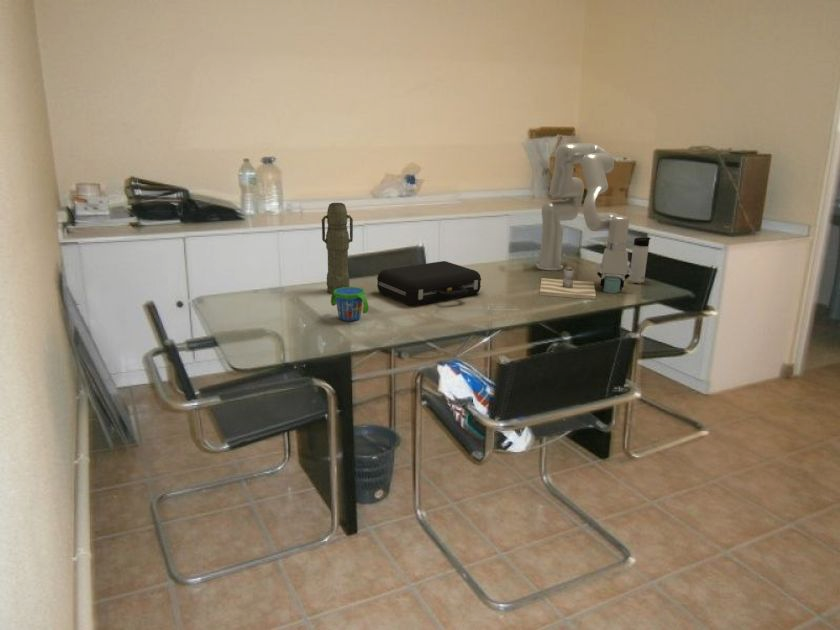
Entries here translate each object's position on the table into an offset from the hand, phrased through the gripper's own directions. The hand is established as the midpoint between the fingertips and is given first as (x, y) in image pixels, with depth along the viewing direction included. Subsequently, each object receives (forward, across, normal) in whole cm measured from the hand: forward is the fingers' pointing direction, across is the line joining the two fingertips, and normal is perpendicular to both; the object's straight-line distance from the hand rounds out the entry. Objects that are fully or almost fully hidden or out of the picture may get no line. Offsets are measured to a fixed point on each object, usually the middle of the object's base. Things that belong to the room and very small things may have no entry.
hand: (611, 288), depth 272 cm
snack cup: (+1, -93, -65) cm, 113 cm away
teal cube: (+1, 0, 0) cm, 1 cm away
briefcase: (+2, -70, -28) cm, 75 cm away
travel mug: (+1, +12, +18) cm, 22 cm away
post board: (+1, -18, -4) cm, 18 cm away
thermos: (+1, -108, -33) cm, 113 cm away
